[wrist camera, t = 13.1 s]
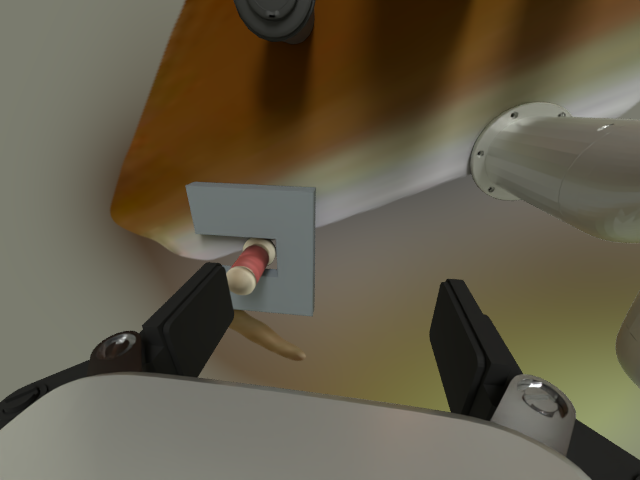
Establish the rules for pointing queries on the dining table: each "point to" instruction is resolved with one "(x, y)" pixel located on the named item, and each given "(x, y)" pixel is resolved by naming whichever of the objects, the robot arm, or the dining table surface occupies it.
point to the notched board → (265, 222)
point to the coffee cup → (278, 18)
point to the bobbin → (250, 265)
